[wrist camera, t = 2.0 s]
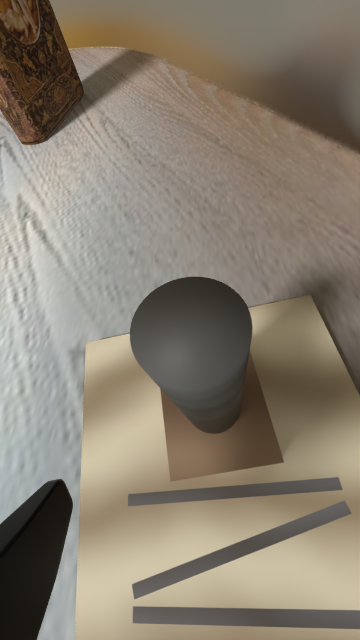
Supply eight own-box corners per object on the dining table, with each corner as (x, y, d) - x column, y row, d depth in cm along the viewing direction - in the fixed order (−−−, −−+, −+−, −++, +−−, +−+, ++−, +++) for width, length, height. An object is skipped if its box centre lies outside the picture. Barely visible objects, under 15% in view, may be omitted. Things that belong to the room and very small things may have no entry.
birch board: (583, 885, 9) (622, 930, 8) (77, 909, 10) (62, 951, 9) (307, 301, 21) (310, 294, 20) (91, 347, 22) (86, 342, 21)
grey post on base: (278, 462, 15) (377, 455, 5) (177, 480, 16) (71, 506, 5) (245, 352, 19) (262, 211, 8) (163, 368, 19) (84, 254, 9)
